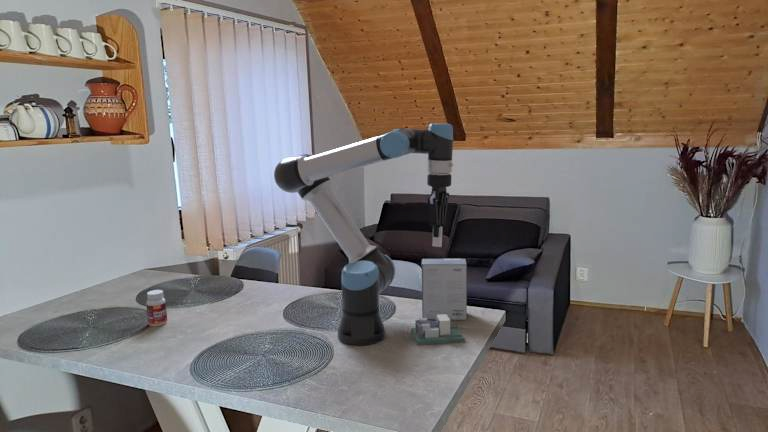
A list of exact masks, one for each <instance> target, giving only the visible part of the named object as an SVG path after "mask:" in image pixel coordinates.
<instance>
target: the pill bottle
mask: <svg viewBox="0 0 768 432" xmlns="http://www.w3.org/2000/svg"><path fill="white" fill-rule="evenodd" d="M146 294H147V295H146V296H147V297H146V298H147V300H146V304H145V305H146V313H147V323H148V325H149V326H151V327H160V326H164V325H166V324H167V323H168V313H167V312H168V311H167V302H166V299H165V298H164V290H162V289H153V290H150V291H148V292H147V293H146Z"/></svg>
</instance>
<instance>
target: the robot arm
mask: <svg viewBox="0 0 768 432" xmlns="http://www.w3.org/2000/svg"><path fill="white" fill-rule="evenodd" d="M453 146H454V126H453V125H452V124H451V123H444V122H443V123H434V122H433V123H430V124H429V125H428V128H427V129H418V128H415V129H413V128H395V129H393V130H390V131H388V132H387V133H383V134H381V135H379V136H373V137H371V138H368V139H364V140H361V141H359V142H358V141H357V142H354V143H351V144H348V145H345V146H341V147H338V148H335V149H331V150H328V151H324V152H322V153H319V154H308V153H306V154H300V155H297V156H292V157H286V158H284V159H281V160H280V161H279V162H278V163H277V165H276V166H275V169H274V172H273V173H274V174H273V176H274V181H275V184H276V185H277V186H278V188H279V189H281V190H282V191H284V192H286V193H292V194H293V193H295V194H296V193H297V194H298V195H299V196H300V198H301V200H302V201H306V202H308V203H310V204H311V206H312V207H313V209H314V211H315V212H316V213H317V216H319V218H320V219H321V220H322V222H323V223H324V225H325V226H326V228H327V229H328V230H329V232H330V233H331V235H332V237H333V238H334V240H335V241H336V242H337V243H338V245H339V247H340V248H341V249H342V251H343V252H344V254H345V255H346V257H347V258H348V263H347V264H346V265H344V267H343V268H342V270H341V277H340V282H341V301H342V302H341V304H342V315H341V318H340V322H339V324H338V328H337V339H338V341H340V342H342V343H344V344H347V345H352V346H366V345H373V344H377V343H379V342H380V341H382V340H384V338H385V337H386V328H385V325H384V323H383V320H382V317H381V313H380V294H381V293H383V292H384V290H385V289H387V288H389V287H390V285H392V283H393V280H394V279H395V276H396V266H395V263H394V261H393V260H392V258H391V257H390V256H388V255H387V254H384V253H381V251H380V250H379V248H378V247H377V246H376V245H371V244H370V243H369V241H368V240H367V239H366V237H365V235H364V233H362V231H361V230H360V229H359V227H358V226H357V224H356V223H355V222H354V220H353V218H352V217H351V215H350V214H349V212H348V211H347V210H346V209H345V207H344V205H343V204H342V202H341V200H340V199H339V198H338V197H337V195H336V193H334V191H333V189H332V188H331V186H332V180H331V179H330V177H332V176H335V175H340V174H343V173H346V172H350V171H354V170H357V169H360V168H364V167H367V166H371V165H374V164H378V163H382V162H384V161H389V160H392V159H396V158H400V157H403V156H405V155H410V154H424V155H425V154H427V155H428V156H427V172H428V174H427V182H426V183H427V186H429V187H431V192H430V197H428V198H427V203H428V214H429V227H432V239H431V240H432V241H431V242H432V247H436V248H442V245H443V227H446V220H447V212H448V204H449V203H448V202H449V198H450V192H447V188H448V187H451V186H452V174H451V173H452V171H453V170H452V169H453V166H454V164H453V150H454V149H453Z"/></svg>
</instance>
